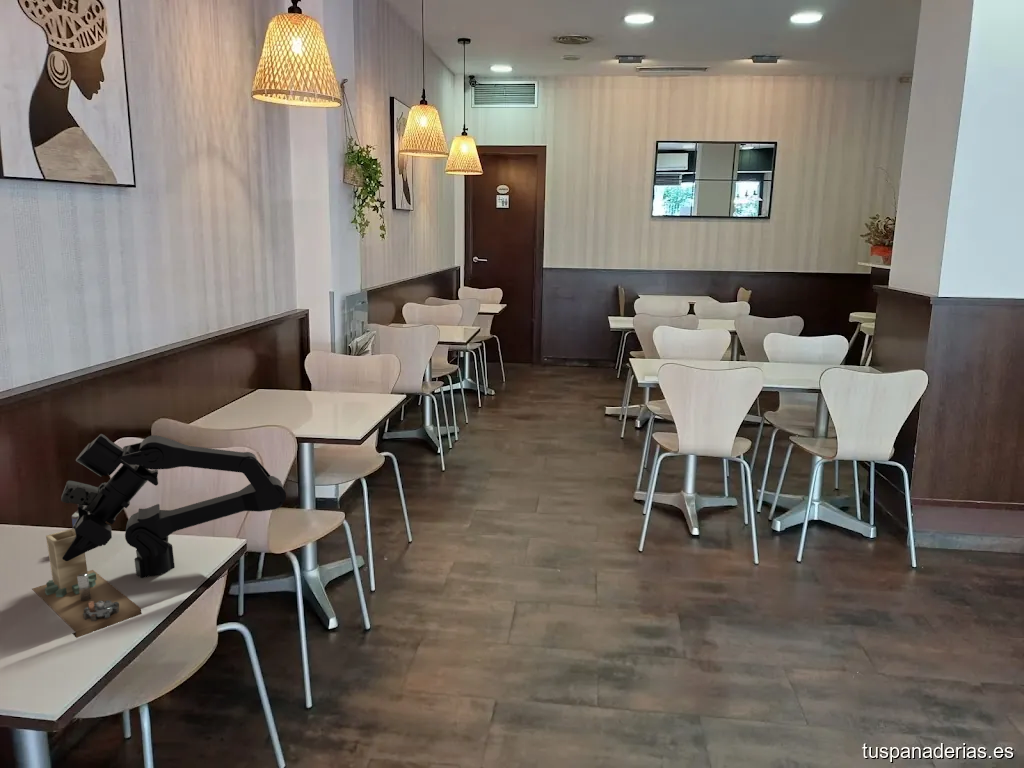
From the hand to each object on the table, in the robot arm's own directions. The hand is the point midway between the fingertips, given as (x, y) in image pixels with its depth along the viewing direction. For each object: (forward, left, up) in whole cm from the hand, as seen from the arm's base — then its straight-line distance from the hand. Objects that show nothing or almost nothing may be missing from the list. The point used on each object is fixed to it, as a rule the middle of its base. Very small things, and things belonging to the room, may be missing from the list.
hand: (65, 551), depth 151 cm
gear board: (0, +8, -9) cm, 12 cm away
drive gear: (0, +16, -8) cm, 18 cm away
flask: (-11, -22, -9) cm, 26 cm away
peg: (0, +8, -8) cm, 11 cm away
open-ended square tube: (0, 0, -8) cm, 8 cm away
